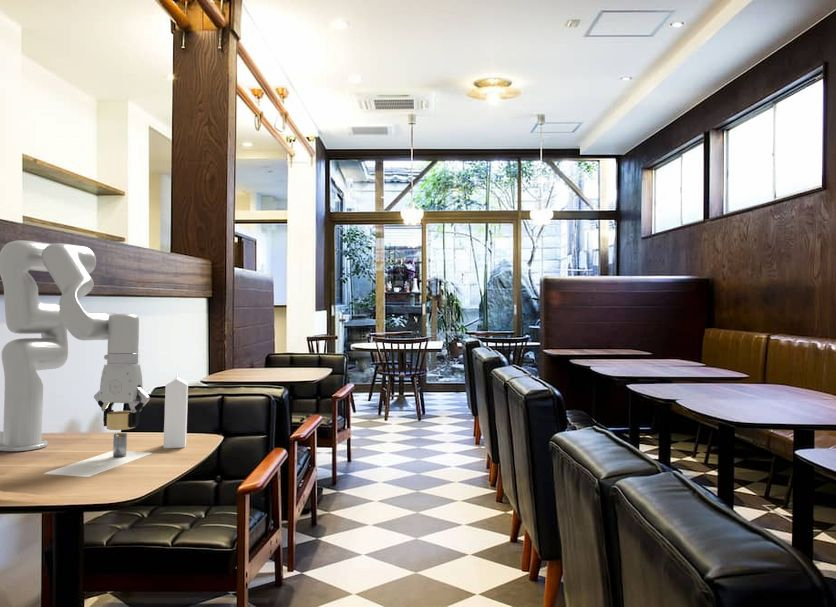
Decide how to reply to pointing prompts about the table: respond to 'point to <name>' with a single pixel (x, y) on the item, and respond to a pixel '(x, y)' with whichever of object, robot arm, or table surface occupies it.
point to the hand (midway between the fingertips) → (121, 425)
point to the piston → (119, 445)
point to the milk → (175, 413)
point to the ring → (118, 420)
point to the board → (96, 464)
